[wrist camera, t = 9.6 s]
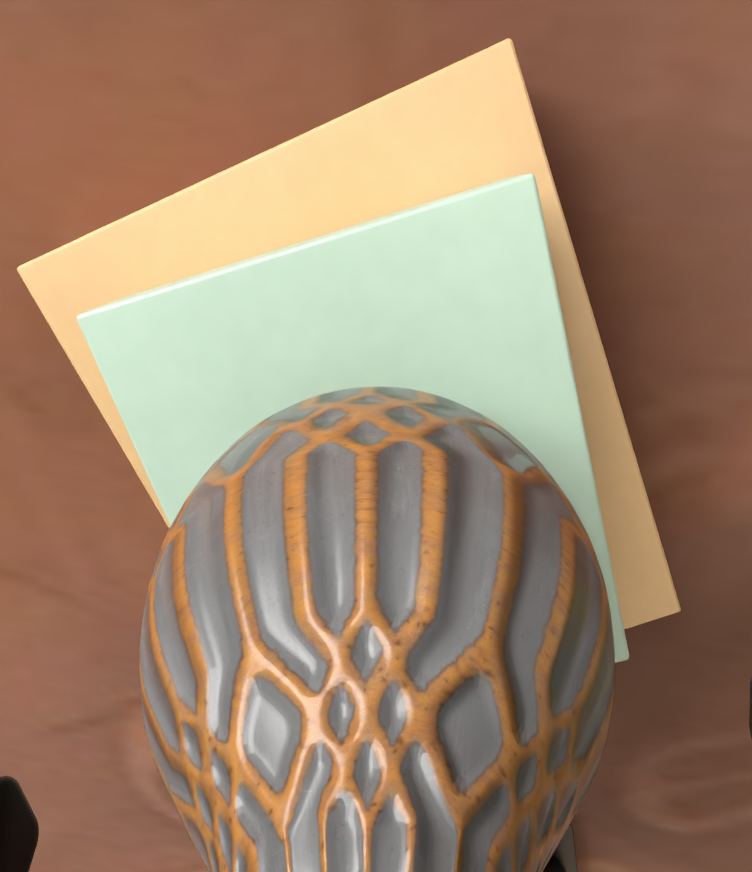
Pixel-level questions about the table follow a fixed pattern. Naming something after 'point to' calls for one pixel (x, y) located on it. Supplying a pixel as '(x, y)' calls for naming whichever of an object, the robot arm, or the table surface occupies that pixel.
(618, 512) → the box stack
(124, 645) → the table surface
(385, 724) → the vase
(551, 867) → the robot arm
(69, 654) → the table surface
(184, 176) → the table surface
